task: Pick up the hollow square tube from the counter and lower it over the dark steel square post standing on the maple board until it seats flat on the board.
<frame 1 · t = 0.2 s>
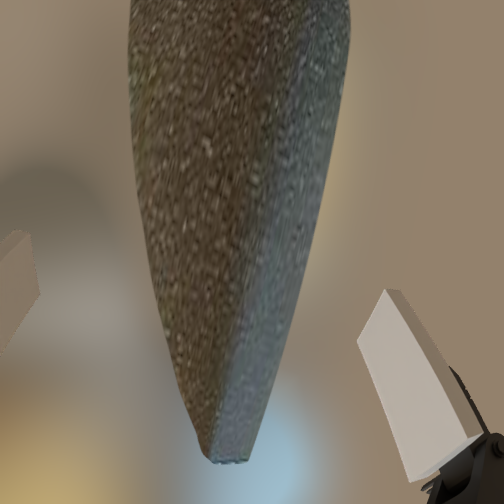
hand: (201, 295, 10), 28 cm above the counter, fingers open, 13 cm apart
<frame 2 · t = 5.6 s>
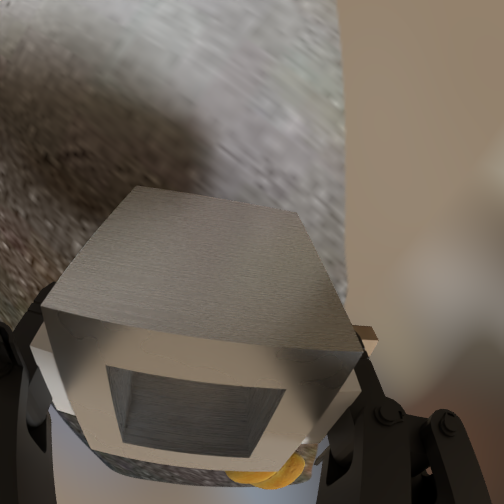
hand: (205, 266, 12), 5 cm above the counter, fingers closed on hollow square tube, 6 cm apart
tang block: (228, 382, 22), on the counter
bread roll: (263, 455, 30), on the counter
hollow square tube: (204, 268, 12), point 5 cm above the counter, touching gripper
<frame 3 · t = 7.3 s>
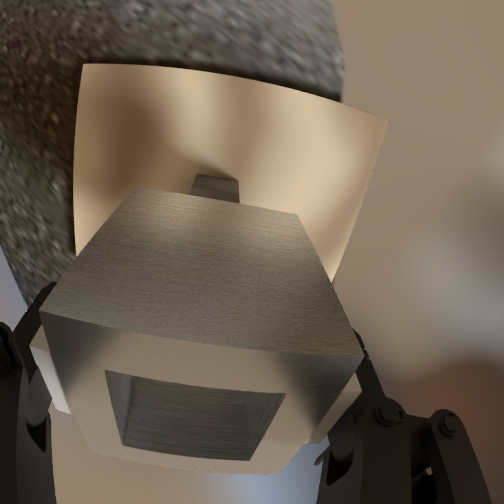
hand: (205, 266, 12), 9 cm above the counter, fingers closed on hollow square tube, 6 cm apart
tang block: (215, 188, 19), on the counter
hollow square tube: (204, 270, 12), point 8 cm above the counter, touching gripper
when the fingers open (2 cm above the counter, at t = 8.8 s): hollow square tube stays where it is, resting on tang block.
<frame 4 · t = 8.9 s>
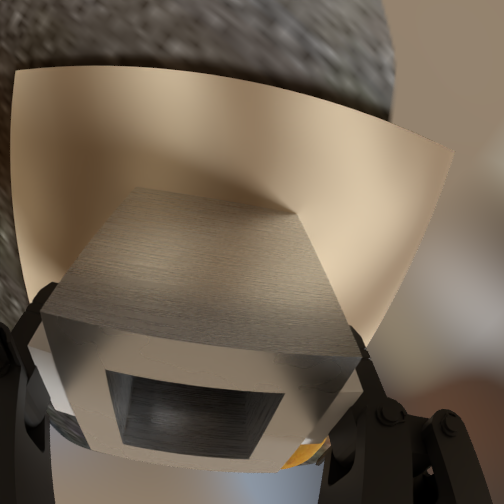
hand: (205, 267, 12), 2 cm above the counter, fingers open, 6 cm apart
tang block: (208, 244, 14), on the counter
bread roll: (268, 416, 22), on the counter
hollow square tube: (204, 269, 12), point 2 cm above the counter, touching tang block
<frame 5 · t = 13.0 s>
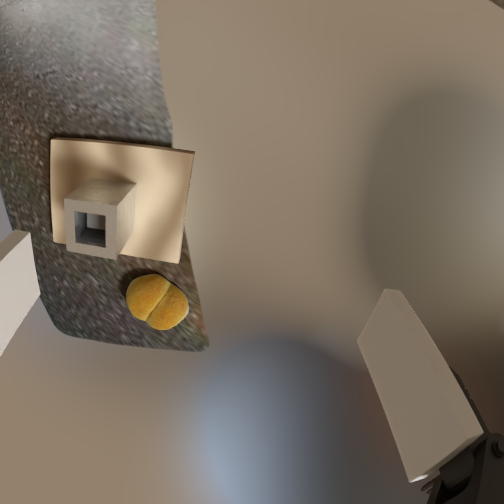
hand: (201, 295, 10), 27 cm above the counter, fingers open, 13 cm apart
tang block: (116, 197, 36), on the counter
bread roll: (159, 296, 44), on the counter
hollow square tube: (112, 204, 34), point 1 cm above the counter, touching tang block
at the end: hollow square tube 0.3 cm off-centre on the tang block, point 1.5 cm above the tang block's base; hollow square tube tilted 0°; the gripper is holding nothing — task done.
